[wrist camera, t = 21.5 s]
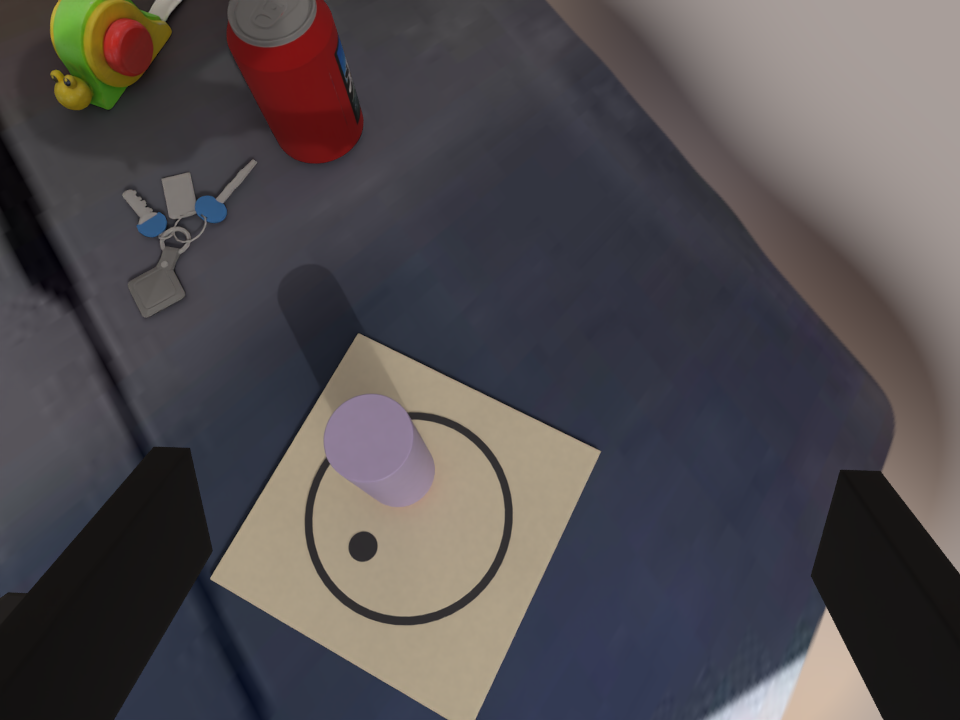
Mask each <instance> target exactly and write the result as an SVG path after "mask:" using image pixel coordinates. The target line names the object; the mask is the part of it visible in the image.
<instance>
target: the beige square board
mask: <svg viewBox="0 0 960 720" xmlns="http://www.w3.org/2000/svg"><path fill="white" fill-rule="evenodd" d="M363 394H380V395H384V396H387V397H389V398H392V399H393V400H395V401H396V402H398V403H399V404H400V405H401V406H402V407H403V408H404V409H405V410H406V412H407V413H408V415H409V417H410V418H411V420H412V422H413V424H414V425H415V427H416V429H417V430H418V432H419V434H420V436H421V437H422V439H423V441H424V443H425V444H426V446H427V448H428V450H429V451H430V453H431V455H432V457H433V460H434V465H435V475H434V480H433V483H432V485H431V487H430V489H429V490H428V492H427V493H426V494H425V496H423V497H422V498H421V499H420V500H419V501H417V502H415V503H414V504H411V505H409V506H405V507H391V506H387V505H384V504H382V503H380V502H379V501H377V500H376V499H374V498H373V497H371V496H370V495H369V494H367V493H366V492H364V491H363V490H361V489H360V488H359V487H357V486H356V485H354V484H353V483H351V482H350V481H349V480H347V479H346V478H344V477H343V476H341V475H340V474H339V473H338V472H336V471H335V469H334V468H333V467H332V466H331V464H330V463H329V461H328V459H327V457H326V454H325V450H324V432H325V428H326V425H327V422H328V420H329V419H330V417H331V415H332V414H333V412H334V411H335V410H336V409H337V408H338V407H339V406H340V405H341V404H343V403H344V402H345V401H347V400H349V399H351V398H353V397H355V396H358V395H363ZM600 452H601V451H599V450H597V449H595V448H593V447H591V446H589V445H587V444H585V443H583V442H581V441H579V440H577V439H575V438H573V437H571V436H568V435H566V434H564V433H562V432H560V431H558V430H556V429H554V428H552V427H550V426H548V425H546V424H544V423H542V422H540V421H538V420H536V419H534V418H532V417H530V416H527V415H525V414H523V413H521V412H519V411H517V410H515V409H513V408H511V407H509V406H507V405H505V404H503V403H501V402H499V401H497V400H495V399H493V398H491V397H488V396H486V395H484V394H482V393H480V392H478V391H476V390H474V389H472V388H470V387H468V386H466V385H464V384H462V383H460V382H458V381H456V380H454V379H452V378H450V377H447V376H445V375H443V374H441V373H439V372H437V371H435V370H433V369H431V368H429V367H427V366H425V365H423V364H421V363H419V362H417V361H415V360H413V359H411V358H408V357H406V356H404V355H402V354H400V353H398V352H396V351H394V350H392V349H390V348H388V347H386V346H384V345H382V344H380V343H378V342H376V341H374V340H372V339H369V338H367V337H365V336H363V335H361V334H359V333H358V334H357V336H356V338H355V339H354V341H353V343H352V344H351V346H350V348H349V349H348V351H347V353H346V354H345V356H344V358H343V359H342V361H341V363H340V364H339V366H338V368H337V369H336V371H335V372H334V374H333V376H332V377H331V379H330V381H329V382H328V384H327V386H326V387H325V389H324V391H323V392H322V394H321V396H320V397H319V399H318V401H317V402H316V404H315V406H314V407H313V409H312V411H311V412H310V414H309V416H308V417H307V419H306V420H305V422H304V424H303V425H302V427H301V429H300V430H299V432H298V434H297V435H296V437H295V439H294V440H293V442H292V444H291V445H290V447H289V449H288V450H287V452H286V454H285V455H284V457H283V459H282V460H281V462H280V464H279V465H278V467H277V468H276V470H275V472H274V473H273V475H272V477H271V478H270V480H269V482H268V483H267V485H266V487H265V488H264V490H263V492H262V493H261V495H260V497H259V498H258V500H257V502H256V503H255V505H254V507H253V508H252V510H251V512H250V513H249V515H248V516H247V518H246V520H245V521H244V523H243V525H242V526H241V528H240V530H239V531H238V533H237V535H236V536H235V538H234V540H233V541H232V543H231V545H230V546H229V548H228V550H227V551H226V553H225V555H224V556H223V558H222V560H221V561H220V563H219V564H218V566H217V568H216V569H215V571H214V573H213V574H212V576H211V578H210V579H211V580H213V581H214V582H216V583H218V584H219V585H221V586H223V587H224V588H226V589H228V590H229V591H231V592H233V593H235V594H236V595H238V596H240V597H241V598H243V599H245V600H246V601H248V602H250V603H251V604H253V605H255V606H257V607H258V608H260V609H262V610H263V611H265V612H267V613H268V614H270V615H272V616H273V617H275V618H277V619H279V620H280V621H282V622H284V623H285V624H287V625H289V626H290V627H292V628H294V629H296V630H297V631H299V632H301V633H302V634H304V635H306V636H307V637H309V638H311V639H312V640H314V641H316V642H318V643H319V644H321V645H323V646H324V647H326V648H328V649H329V650H331V651H333V652H334V653H336V654H338V655H340V656H341V657H343V658H345V659H346V660H348V661H350V662H351V663H353V664H355V665H356V666H358V667H360V668H362V669H363V670H365V671H367V672H368V673H370V674H372V675H373V676H375V677H377V678H379V679H380V680H382V681H384V682H385V683H387V684H389V685H390V686H392V687H394V688H395V689H397V690H399V691H401V692H402V693H404V694H406V695H407V696H409V697H411V698H412V699H414V700H416V701H417V702H419V703H421V704H423V705H424V706H426V707H428V708H429V709H431V710H433V711H434V712H436V713H438V714H439V715H441V716H443V717H445V718H446V719H448V720H475V719H476V717H477V715H478V712H479V710H480V708H481V706H482V704H483V702H484V700H485V698H486V695H487V693H488V691H489V689H490V687H491V685H492V683H493V680H494V678H495V676H496V674H497V672H498V670H499V668H500V666H501V663H502V661H503V659H504V657H505V655H506V653H507V651H508V649H509V646H510V644H511V642H512V640H513V638H514V636H515V634H516V631H517V629H518V627H519V625H520V623H521V621H522V619H523V617H524V614H525V612H526V610H527V608H528V606H529V604H530V602H531V599H532V597H533V595H534V593H535V591H536V589H537V587H538V585H539V582H540V580H541V578H542V576H543V574H544V572H545V570H546V567H547V565H548V563H549V561H550V559H551V557H552V555H553V553H554V550H555V548H556V546H557V544H558V542H559V540H560V538H561V536H562V533H563V531H564V529H565V527H566V525H567V523H568V521H569V518H570V516H571V514H572V512H573V510H574V508H575V506H576V504H577V501H578V499H579V497H580V495H581V493H582V491H583V489H584V486H585V484H586V482H587V480H588V478H589V476H590V474H591V472H592V469H593V467H594V465H595V463H596V461H597V459H598V457H599V455H600Z"/></svg>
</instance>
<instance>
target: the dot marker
mask: <svg viewBox="0 0 960 720" xmlns="http://www.w3.org/2000/svg"><path fill="white" fill-rule="evenodd" d="M324 450H325V454H326V457H327V459H328V461H329V463H330V464H331V466H332V467H333V468H334V469H335V471H336V472H338V473H339V474H340V475H341V476H343V477H344V478H346V479H347V480H349V481H350V482H351V483H353V484H354V485H356V486H357V487H359V488H360V489H361V490H363V491H364V492H366V493H367V494H369V495H370V496H371V497H373V498H374V499H376V500H377V501H379V502H380V503H382V504H384V505H387V506H391V507H405V506H409V505H411V504H414V503H415V502H417V501H419V500H420V499H421V498H422V497H423V496H425V494H426V493H427V492H428V490H429V489H430V487H431V485H432V483H433V480H434V475H435V465H434V460H433V457H432V455H431V453H430V451H429V450H428V448H427V446H426V444H425V443H424V441H423V439H422V437H421V436H420V434H419V432H418V430H417V429H416V427H415V425H414V424H413V422H412V420H411V418H410V417H409V415H408V413H407V412H406V410H405V409H404V408H403V407H402V406H401V405H400V404H399V403H398V402H396V401H395V400H393V399H392V398H389V397H387V396H384V395H380V394H363V395H358V396H355V397H353V398H351V399H349V400H347V401H345V402H344V403H343V404H341V405H340V406H339V407H338V408H337V409H336V410H335V411H334V412H333V414H332V415H331V417H330V419H329V420H328V422H327V425H326V428H325V432H324Z"/></svg>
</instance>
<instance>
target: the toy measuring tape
mask: <svg viewBox="0 0 960 720" xmlns="http://www.w3.org/2000/svg"><path fill="white" fill-rule="evenodd" d="M181 1H182V0H155V2H154V4H153V5H152V7H151V9H150V11H149V12H145V11H142V10H139V9H138V8H137V7H136V5H135V4H134V3H133V2H132V1H131V0H59V1H58V2H57V4H56V6H55V7H54V10H53V12H52V16H51V21H50V34H51V40H52V43H53V46H54V49H55V51H56V53H57V55H58V57H59V58H60V59H61V61H62V62H63V63H64V65H65V66H66V67H67V69H68V70H69V72H70V74H71V75H66V76H64V75H63V74H62V73H61V72H60V71H59V70H53V71H52V72H51V74H50V75H51V78H52V79H53V80H54V81H55V82H56V85H55V88H54V92H55V96H56V98H57V100H58V101H59V102H60V104H62V105H63V106H64V107H66V108H68V109H71V110H81V109H84V108H86V107H87V106H88V105H89V104H93V105H96V106H99V107H101V108H104V109H107V110H109V109H111V108H112V107H113V106H114V105H115V103H116V102H117V101H118V99H119V98H120V96H121V95H122V93H123V92H124V91H125V89H126V88H127V87H128V86H129V85H131V84H133V83H135V82H136V81H137V80H138V79H139V78H140V77H141V76H142V75H143V73H144V72H145V71H146V70H147V69H148V67H149V65H150V64H151V62H152V61H153V60H154V58H155V57H156V55H157V54H158V53H159V51H160V50H161V48H162V47H163V46H164V44H165V43H166V41H167V40H168V39H169V37H170V35H171V33H172V31H171V28H170V26H169V25H168V24H167V23H166V20H167V19H168V17H169V15H170V14H171V12H172V11H173V10H174V9H175V8H176V6H177V5H178V4H179V3H180V2H181Z"/></svg>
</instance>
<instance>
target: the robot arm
mask: <svg viewBox="0 0 960 720" xmlns="http://www.w3.org/2000/svg"><path fill="white" fill-rule="evenodd" d="M212 551H213V550H212V545H211V541H210V536H209V532H208V527H207V523H206V518H205V514H204V509H203V505H202V500H201V496H200V491H199V487H198V483H197V478H196V474H195V469H194V465H193V460H192V456H191V451H190V448H175V447H153V448H152V450H151V451H150V452H149V453H148V454H147V455H146V456H145V458H144V459H143V460H142V461H141V462H140V463H139V465H138V466H137V467H136V468H135V469H134V470H133V472H132V473H131V474H130V475H129V476H128V477H127V479H126V480H125V481H124V482H123V483H122V484H121V485H120V487H119V488H118V489H117V490H116V491H115V492H114V494H113V495H112V496H111V497H110V498H109V499H108V501H107V502H106V503H105V504H104V505H103V506H102V508H101V509H100V510H99V511H98V512H97V513H96V514H95V516H94V517H93V518H92V519H91V520H90V521H89V523H88V524H87V525H86V526H85V527H84V528H83V530H82V531H81V532H80V533H79V534H78V535H77V537H76V538H75V539H74V540H73V541H72V542H71V543H70V545H69V546H68V547H67V548H66V549H65V550H64V552H63V553H62V554H61V555H60V556H59V557H58V559H57V560H56V561H55V562H54V563H53V564H52V566H51V567H50V568H49V569H48V570H47V571H46V572H45V574H44V575H43V576H42V577H41V578H40V579H39V581H38V582H37V583H36V584H35V585H34V586H33V588H32V589H31V590H30V591H29V592H28V593H7V594H5V595H4V596H2V597H1V598H0V720H114V719H115V717H116V715H117V714H118V712H119V710H120V708H121V707H122V705H123V703H124V702H125V700H126V698H127V697H128V695H129V693H130V691H131V690H132V688H133V686H134V685H135V683H136V681H137V679H138V678H139V676H140V674H141V673H142V671H143V669H144V667H145V666H146V664H147V662H148V661H149V659H150V657H151V656H152V654H153V652H154V650H155V649H156V647H157V645H158V644H159V642H160V640H161V638H162V637H163V635H164V633H165V632H166V630H167V628H168V626H169V625H170V623H171V621H172V620H173V618H174V616H175V615H176V613H177V611H178V609H179V608H180V606H181V604H182V603H183V601H184V599H185V597H186V596H187V594H188V592H189V591H190V589H191V587H192V586H193V584H194V582H195V580H196V579H197V577H198V575H199V574H200V572H201V570H202V568H203V567H204V565H205V563H206V562H207V560H208V558H209V556H210V555H211V553H212ZM811 577H812V579H813V581H814V583H815V585H816V587H817V589H818V591H819V593H820V595H821V597H822V599H823V601H824V603H825V605H826V607H827V609H828V611H829V613H830V615H831V617H832V619H833V621H834V623H835V625H836V627H837V629H838V631H839V633H840V635H841V637H842V639H843V641H844V643H845V645H846V647H847V649H848V651H849V652H850V655H851V657H852V659H853V661H854V663H855V665H856V666H857V668H858V670H859V672H860V674H861V676H862V678H863V680H864V682H865V684H866V686H867V688H868V690H869V692H870V694H871V696H872V698H873V700H874V702H875V704H876V706H877V708H878V710H879V712H880V714H881V716H882V718H883V719H884V720H960V574H959V572H958V571H957V570H956V569H955V567H954V566H953V565H952V563H951V562H950V561H949V559H947V557H946V556H945V554H944V553H943V552H942V550H941V549H940V548H939V547H938V545H937V544H936V543H935V541H934V540H933V539H932V537H931V536H930V535H929V534H928V532H927V531H926V530H925V529H924V527H923V526H922V525H921V523H920V522H919V521H918V519H917V518H916V517H915V515H914V514H913V513H912V512H911V510H910V509H909V508H908V507H907V505H906V504H905V502H904V501H903V500H902V499H901V497H900V496H899V495H898V493H897V492H896V491H895V490H894V488H893V487H892V486H891V484H890V483H889V482H888V480H887V479H886V478H885V477H884V475H883V474H882V473H881V471H860V470H840V473H839V476H838V480H837V483H836V487H835V491H834V494H833V498H832V501H831V505H830V509H829V512H828V516H827V519H826V523H825V527H824V530H823V534H822V538H821V541H820V545H819V548H818V552H817V556H816V559H815V563H814V566H813V570H812V574H811Z"/></svg>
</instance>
